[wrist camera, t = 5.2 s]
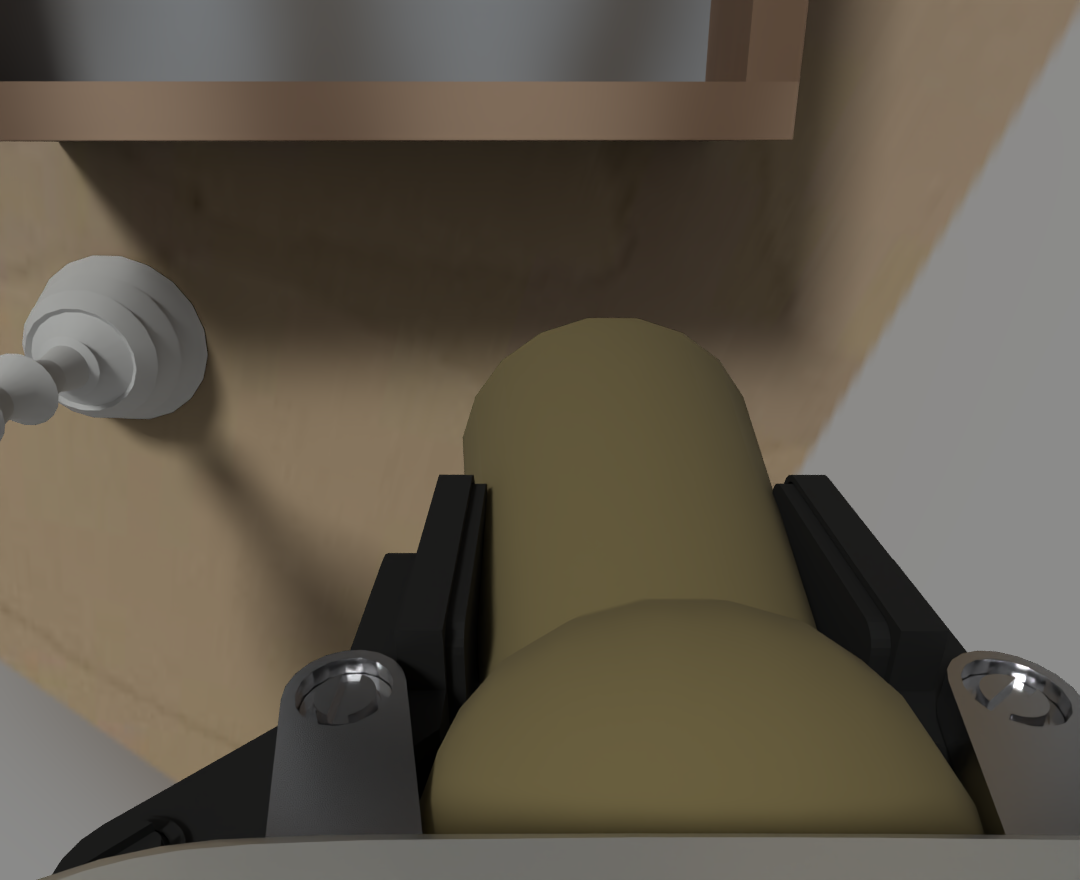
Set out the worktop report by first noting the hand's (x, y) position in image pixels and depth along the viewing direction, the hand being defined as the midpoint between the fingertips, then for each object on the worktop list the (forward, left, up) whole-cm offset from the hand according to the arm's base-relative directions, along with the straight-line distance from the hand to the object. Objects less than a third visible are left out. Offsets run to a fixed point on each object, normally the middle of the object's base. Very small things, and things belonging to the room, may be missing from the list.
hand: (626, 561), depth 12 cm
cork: (0, 0, -4) cm, 4 cm away
